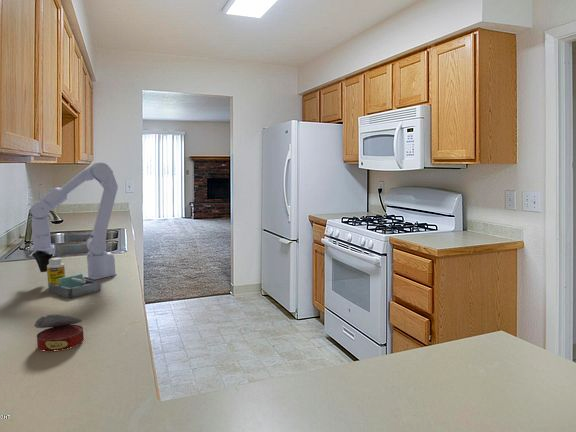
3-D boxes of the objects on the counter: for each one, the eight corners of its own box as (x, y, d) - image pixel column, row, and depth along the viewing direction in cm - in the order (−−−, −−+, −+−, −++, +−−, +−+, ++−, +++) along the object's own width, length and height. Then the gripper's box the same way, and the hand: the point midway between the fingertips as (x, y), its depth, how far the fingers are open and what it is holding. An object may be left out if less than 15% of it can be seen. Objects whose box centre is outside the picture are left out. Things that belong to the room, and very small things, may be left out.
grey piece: (79, 285, 160) (78, 277, 159) (100, 290, 152) (99, 282, 152) (49, 292, 151) (48, 283, 151) (69, 298, 143) (69, 289, 143)
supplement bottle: (49, 289, 155) (46, 261, 153) (47, 286, 159) (45, 258, 158) (66, 287, 158) (64, 258, 156) (64, 284, 162) (62, 256, 161)
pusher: (82, 287, 156) (81, 273, 155) (96, 290, 151) (95, 276, 150) (60, 292, 150) (58, 278, 149) (73, 296, 144) (72, 281, 144)
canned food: (38, 368, 103) (16, 331, 103) (72, 347, 112) (53, 313, 112) (67, 353, 98) (44, 314, 98) (100, 332, 107) (80, 297, 107)
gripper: (20, 234, 162) (23, 271, 164) (39, 237, 154) (42, 276, 155) (40, 232, 168) (43, 267, 169) (60, 235, 160) (62, 272, 161)
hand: (44, 271), depth 163 cm, fingers closed
